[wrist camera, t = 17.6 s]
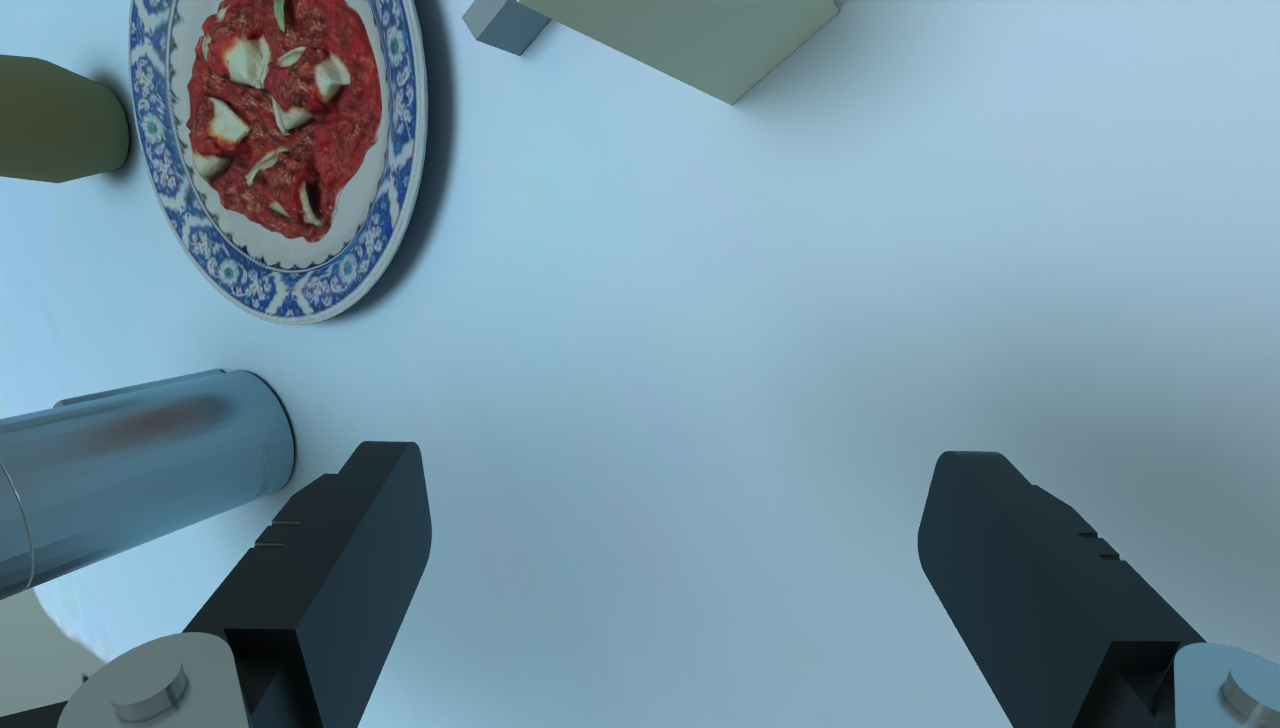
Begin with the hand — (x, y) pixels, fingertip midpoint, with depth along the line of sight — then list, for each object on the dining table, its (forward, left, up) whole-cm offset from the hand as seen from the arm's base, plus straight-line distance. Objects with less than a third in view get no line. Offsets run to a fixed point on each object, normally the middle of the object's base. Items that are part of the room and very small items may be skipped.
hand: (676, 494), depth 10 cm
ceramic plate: (-35, -1, -18) cm, 39 cm away
